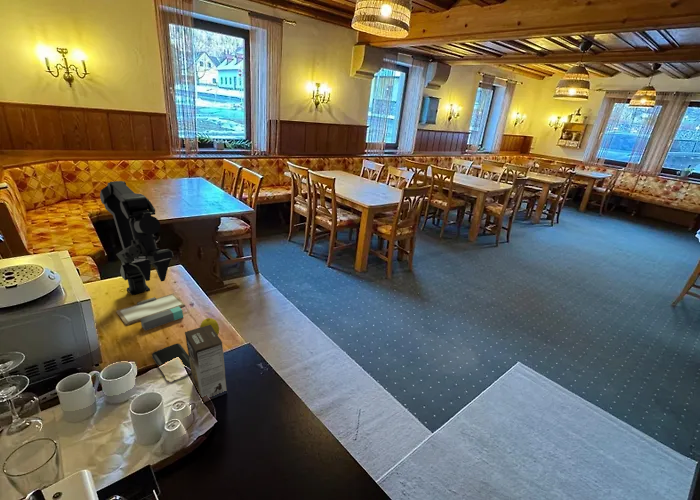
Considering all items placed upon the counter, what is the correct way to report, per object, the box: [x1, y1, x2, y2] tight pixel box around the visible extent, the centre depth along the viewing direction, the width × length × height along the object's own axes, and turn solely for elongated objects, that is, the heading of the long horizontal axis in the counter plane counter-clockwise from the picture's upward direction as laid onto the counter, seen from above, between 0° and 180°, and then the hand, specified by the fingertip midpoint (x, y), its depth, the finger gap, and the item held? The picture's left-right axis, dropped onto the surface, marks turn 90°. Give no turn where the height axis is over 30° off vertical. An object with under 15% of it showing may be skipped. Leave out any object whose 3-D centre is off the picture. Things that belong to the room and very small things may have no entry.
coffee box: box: [184, 325, 228, 397], centre depth 86 cm, size 9×6×16 cm
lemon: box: [199, 317, 220, 336], centre depth 106 cm, size 6×6×8 cm
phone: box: [151, 343, 191, 368], centre depth 97 cm, size 8×1×15 cm
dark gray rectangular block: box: [140, 306, 184, 332], centre depth 115 cm, size 3×12×3 cm, turn 136°
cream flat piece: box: [115, 293, 186, 326], centre depth 122 cm, size 11×19×1 cm, turn 136°
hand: (155, 281), depth 114 cm, fingers open, 9 cm apart
